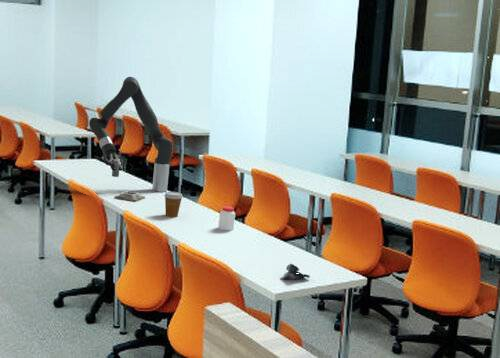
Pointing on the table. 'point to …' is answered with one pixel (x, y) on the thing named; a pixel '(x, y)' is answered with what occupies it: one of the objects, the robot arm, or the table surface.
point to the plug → (117, 165)
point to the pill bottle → (226, 218)
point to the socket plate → (130, 196)
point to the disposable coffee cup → (172, 203)
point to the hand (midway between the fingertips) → (117, 170)
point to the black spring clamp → (293, 273)
